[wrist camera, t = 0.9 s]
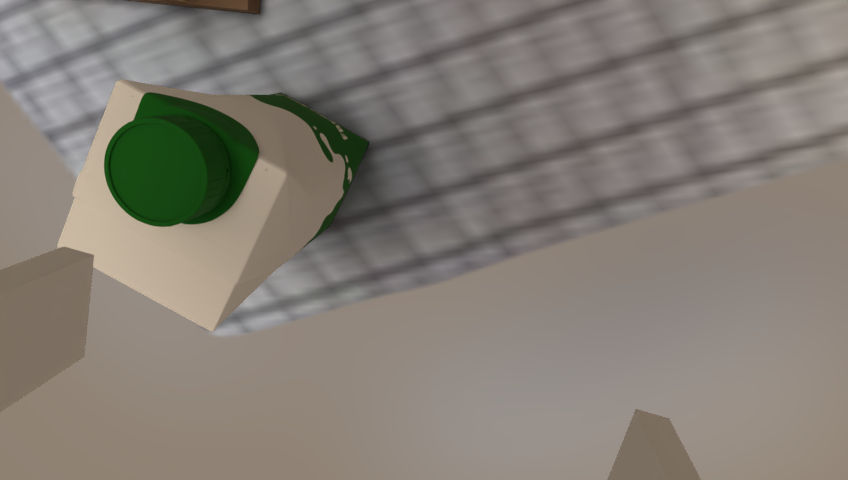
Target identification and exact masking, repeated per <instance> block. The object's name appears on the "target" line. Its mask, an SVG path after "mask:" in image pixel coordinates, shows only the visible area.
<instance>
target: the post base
mask: <svg viewBox="0 0 848 480" xmlns="http://www.w3.org/2000/svg"><path fill="white" fill-rule="evenodd" d="M128 1H138V2H147V3H157V4H166V5H175V6H185V7H194V8H204V9H213V10H223V11H232V12H241V13H251V14H260V0H128Z"/></svg>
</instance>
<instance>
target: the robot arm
mask: <svg viewBox="0 0 848 480" xmlns="http://www.w3.org/2000/svg"><path fill="white" fill-rule="evenodd" d="M93 262H94V255H93V254H89V253H86V252H82V251H78V250H75V249H71V248H68V247H61V248H58V249H56V250H53V251H50V252H48V253H45V254H42V255H40V256H37V257H34V258H32V259H29V260H26V261H24V262H21V263H18V264H16V265H13V266H10V267H8V268H5V269H2V270H0V412H1V411H3V410H4V409H6V408H7V407H9V406H10V405H12V404H13V403H15V402H16V401H18V400H19V399H21V398H22V397H24V396H26V395H27V394H29V393H30V392H31V391H33V390H35V389H36V388H37V387H39V386H41V385H42V384H44V383H45V382H47V381H48V380H50V379H51V378H53V377H54V376H56V375H57V374H59V373H60V372H62V371H63V370H65V369H66V368H68V367H69V366H71V365H72V364H74V363H75V362H77V361H78V360H80V359H82V358H83V357H84V355H85V344H86V333H87V324H88V313H89V302H90V293H91V282H92V271H93ZM608 480H701V479H700V477H699V475H698V473H697V471H696V469H695V467H694V465H693V463H692V461H691V460H690V458H689V456H688V454H687V452H686V450H685V448H684V446H683V444H682V442H681V441H680V439H679V437H678V435H677V433H676V431H675V429H674V427H673V425H672V423H671V421H670V419H669V418H665V417H662V416H658V415H655V414H651V413H648V412H644V411H641V410H637V409H636V410H635V413H634V415H633V418H632V420H631V423H630V425H629V428H628V430H627V432H626V435H625V438H624V440H623V443H622V445H621V447H620V450H619V453H618V455H617V458H616V460H615V462H614V465H613V467H612V470H611V472H610V475H609V478H608Z"/></svg>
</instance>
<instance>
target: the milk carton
mask: <svg viewBox="0 0 848 480" xmlns="http://www.w3.org/2000/svg"><path fill="white" fill-rule="evenodd" d="M368 144H369V142H368V141H366V140H365V139H363V138H361V137H359V136H358V135H356V134H354V133H352V132H351V131H349V130H347V129H345V128H344V127H342V126H340V125H338V124H337V123H335V122H333V121H331V120H330V119H328V118H326V117H325V116H323V115H321V114H319V113H318V112H316V111H314V110H312V109H311V108H309V107H307V106H305V105H303V104H301V103H299V102H297V101H295V100H294V99H292V98H290V97H288V96H286V95H284V94H282V93H277V94H272V95H210V94H203V93H197V92H191V91H185V90H179V89H173V88H167V87H162V86H156V85H150V84H145V83H139V82H133V81H128V80H122V79H121V80H119V81H117V82H116V84H115V86H114V89H113V91H112V94H111V97H110V99H109V102H108V104H107V107H106V110H105V112H104V115H103V117H102V120H101V123H100V125H99V128H98V130H97V133H96V136H95V138H94V141H93V143H92V146H91V149H90V151H89V154H88V156H87V159H86V162H85V164H84V167H83V170H82V171H81V172H80V174H79V176H78V179H77V181H76V184H75V187H74V190H73V194H72V195H73V196H74V197H75V199H74V202H73V204H72V207H71V210H70V212H69V215H68V218H67V220H66V223H65V226H64V229H63V231H62V234H61V237H60V240H59V242H58V245H57V247H58V248H61V247H68V248H71V249H75V250H78V251H82V252H86V253H89V254H93V255H94V262H93V267H94V268H96V269H98V270H99V271H102V272H103V273H105V274H107V275H109V276H110V277H112V278H114V279H116V280H118V281H120V282H121V283H123V284H125V285H127V286H129V287H131V288H132V289H134V290H136V291H138V292H140V293H141V294H143V295H145V296H147V297H149V298H151V299H153V300H154V301H156V302H158V303H160V304H162V305H163V306H165V307H167V308H169V309H171V310H173V311H175V312H176V313H178V314H180V315H182V316H184V317H185V318H187V319H189V320H191V321H193V322H195V323H196V324H198V325H200V326H202V327H204V328H206V329H207V330H209V331H211V332H213V331H214V330H215V329H216V328H217V327H218V326H219V325H220V324H221V323H222V322H223V321H224V320H225V319H226V318H227V317H228V316H229V315H230V314H231V313H232V312H233V311H234V310H235V309H236V308H237V307H238V306H239V305H240V304H241V303H242V302H243V301H244V300H245V299H246V298H247V297H248V296H249V295H250V294H251V293H252V292H253V291H254V290H255V289H256V288H257V287H258V286H259V285H260V284H261V283H262V282H263V281H264V280H266V279H267V278H268V277H269V276H270V275H271V274H272V273H273V272H274V271H275V270H276V269H277V268H278V267H280V266H281V265H282V264H284V263H285V262H286V261H287V260H289V259H290V258H291V257H292V256H294V255H295V254H296V253H297V252H299V251H300V250H301V249H302V248H303V247H305V246H306V245H307V244H308V243H310V242H311V241H312V240H313V239H315V238H316V237H317V236H318V235H320V234H321V233H322V232H323V231H324V230H325V229H327V228H328V227H329V225H330V224H331V222H332V221H333V219H334V217H335V215H336V213H337V211H338V209H339V207H340V205H341V203H342V201H343V199H344V197H345V195H346V193H347V191H348V189H349V187H350V185H351V183H352V180H353V178H354V176H355V174H356V172H357V169H358V167H359V165H360V162H361V160H362V158H363V155H364V153H365V151H366V149H367V146H368Z"/></svg>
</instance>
